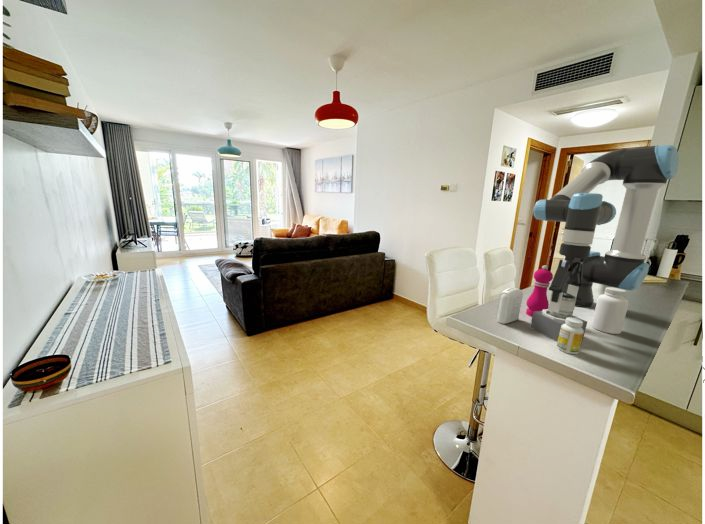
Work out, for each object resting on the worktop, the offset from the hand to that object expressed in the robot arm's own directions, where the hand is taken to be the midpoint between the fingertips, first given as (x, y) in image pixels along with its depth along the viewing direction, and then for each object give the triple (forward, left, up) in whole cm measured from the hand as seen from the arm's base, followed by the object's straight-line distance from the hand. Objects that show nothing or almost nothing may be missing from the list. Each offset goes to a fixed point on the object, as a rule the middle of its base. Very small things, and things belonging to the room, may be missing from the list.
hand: (561, 307), depth 93 cm
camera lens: (0, 0, -3) cm, 3 cm away
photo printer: (+9, -12, -10) cm, 18 cm away
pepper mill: (-6, -14, -9) cm, 18 cm away
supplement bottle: (+7, +10, -9) cm, 15 cm away
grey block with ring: (0, 0, -9) cm, 9 cm away
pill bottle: (-22, +1, -9) cm, 24 cm away
